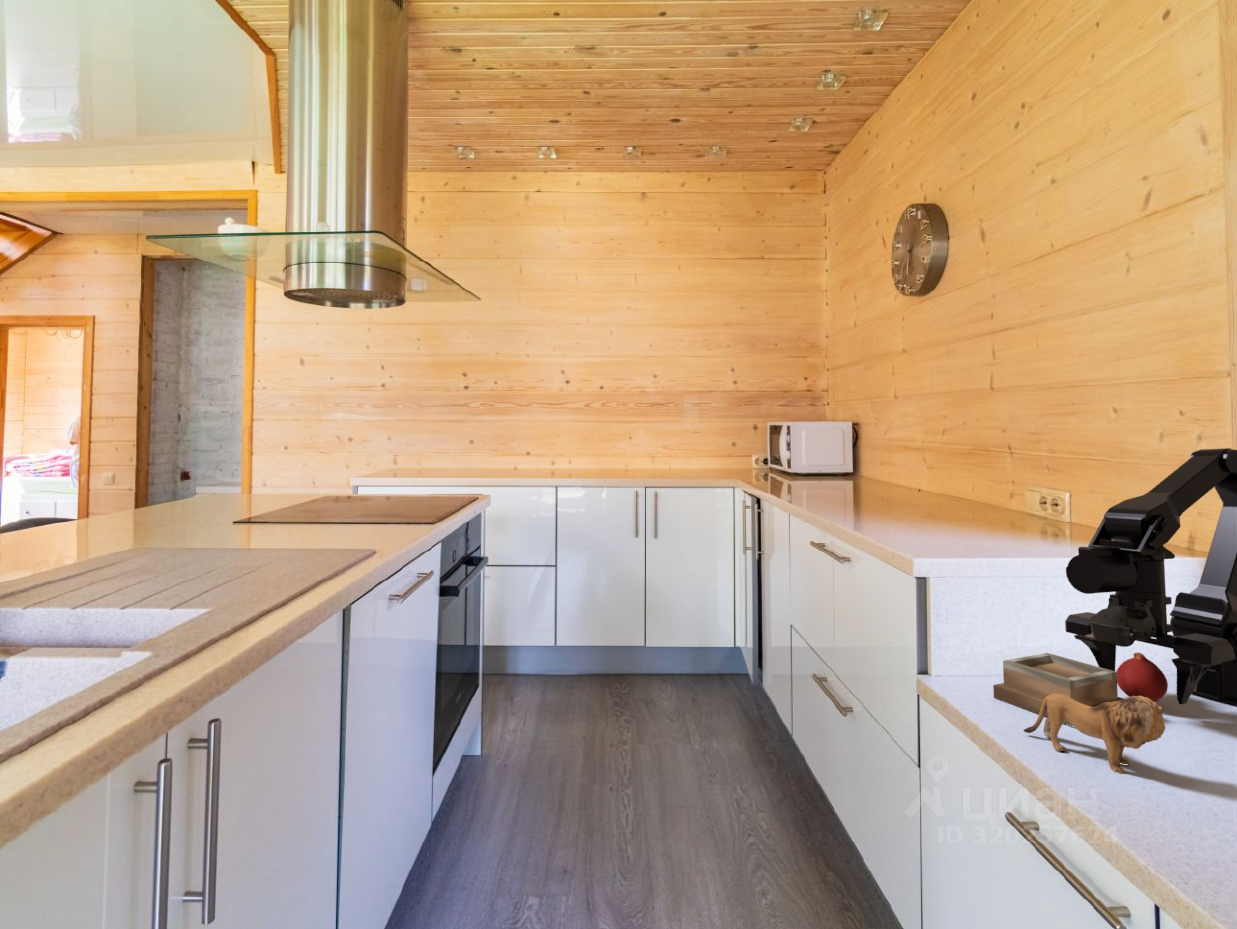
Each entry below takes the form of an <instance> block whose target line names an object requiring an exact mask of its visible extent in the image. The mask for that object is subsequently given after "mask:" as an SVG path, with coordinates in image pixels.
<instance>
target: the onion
mask: <svg viewBox="0 0 1237 929" xmlns="http://www.w3.org/2000/svg"><path fill="white" fill-rule="evenodd" d="M1132 654H1133V657H1131V658H1128V659H1126V660H1125V661H1123V662H1122V663H1121V664H1120V665H1119V666H1118V668H1117V669H1116V670H1115V672H1117V687H1119V689H1120V690H1121V691H1122V692H1123V693H1124V694H1125V695H1126V696H1127V697H1131V696H1143V697H1147V698H1149V699H1151V700H1152V701H1153V702H1156V703H1157V702H1158V701H1160V700H1162V699H1163V698H1164V697H1165V695H1166V694H1167V692H1168V687H1169V683H1168V680H1167V677H1166V676H1165V674H1164V672H1163V671H1162V670H1161V669H1160V668H1159V667H1158V666H1157V665H1156V663H1155V662H1153V661H1151V660H1150V659H1149V658H1147V657H1146V656H1145V655H1144V654H1143V653H1141V652H1137V651H1136V652H1134V653H1132Z"/></svg>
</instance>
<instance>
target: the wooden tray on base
mask: <svg viewBox="0 0 1237 929" xmlns="http://www.w3.org/2000/svg"><path fill="white" fill-rule="evenodd" d="M1002 667H1003V668H1002V671H1003V673H1002V674H1003V683H998V684H996V683H995V684H993V686H992V687H993V689H992V690H993V698H994V699H996V700H999V701H1002V702H1004V703H1007V704H1010V705H1013V706H1015V707H1017V708H1019V709H1022V710H1025V711H1028V712H1031V713H1033V714H1036V715H1037V716H1039V712H1040V709H1041V706H1042V703H1043V701H1044V700H1045V698H1046V697H1047V696H1049V695H1051V694H1062V695H1066V696H1069V697H1071V698H1072V699H1074V700H1076V701H1077V702H1079V703H1082V704H1084V705H1087V706H1091V707H1096V706H1099V705H1101V704H1103V703H1106V702H1114V701H1119V700H1122V699H1124V698H1123V697H1120V696H1118V694H1119V693H1118V684H1117V672H1116V670H1115V671H1112V670H1108V669H1104V668H1101V667H1099V666H1098V665H1093V664H1089V663H1085V662H1081V661H1078V660H1074V659H1071V658H1068V657H1064V656H1061V655H1060V656H1059V655H1056V654H1052V653H1050V652H1044V653H1039V654H1034V655H1029V656H1021V657H1017V658H1011V659H1004V660H1003V661H1002ZM1043 718H1046V719H1047V718H1049V716H1048V711H1047V709H1046V712H1045V714H1044V717H1043ZM1065 724H1068V725H1071V726H1073V725H1072V724H1071V723H1070V722H1069V721H1067V722H1065ZM1065 724H1064V725H1065ZM1068 725H1067V726H1068Z"/></svg>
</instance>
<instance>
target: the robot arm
mask: <svg viewBox="0 0 1237 929" xmlns="http://www.w3.org/2000/svg"><path fill="white" fill-rule="evenodd" d="M1212 489H1214V490H1216V493H1217V495H1218V496H1219V498H1220V500H1221V502H1222V506H1221V510H1220V514H1219V518H1218V521H1217V523H1216V524H1217V525H1216V527H1215V531H1214V533H1213V537H1212V541H1211V544H1210V547H1209V550H1208V553H1207V557H1206V560H1205V564H1204V566H1203V570H1202V573H1201V577H1200V580H1199V583H1198V585H1197V587H1196V588H1195V589H1194V590H1192V591H1190V592H1189V593H1188V592H1182V591H1179V593H1177V595H1175V596H1176V597H1175V601H1174V604H1173V605H1174V606H1173V607H1172V611H1171V612H1170V613H1169V616H1170V617H1171V618H1170V620H1169V621H1170V622H1169V623H1168V620H1167V619H1168V618H1167V616H1168V615H1167V605H1172V600H1173V599H1172V597H1171V596H1166V593H1167V592H1166V590H1167V589H1166V571H1165V570H1166V568H1165V560H1172V559H1175V556H1176V555H1175V554H1174V553H1173V552H1172V551H1171V550H1169V549H1167V547H1165V545H1166V544H1167V543H1169V541H1170V540H1171V539H1172V538H1173V536H1174V535H1175V534H1176V533H1177V532H1178V530H1180V528H1181V518H1180V517H1181V516H1182V515H1183V514H1184V513H1185V511H1187V510H1189V508H1191V507H1192V506H1193V505H1194V504H1196V503H1197V502H1198V501H1199V500H1200V499H1202V498H1203V497H1204V496H1205V495H1206V494H1207V493H1209V492H1210V491H1212ZM1077 551H1078V552H1077V553H1078V555H1075V556H1073V557H1072V558H1071V559H1069V561H1068V563H1067V566H1066V567H1065V574H1066V578H1067V581H1068V582H1069V583H1070V586H1072V588H1073V589H1074V590H1076V591H1078V592H1079V593H1082V594H1085V595H1086V594H1087V595H1089V594H1104V593H1110V594H1109V598H1108V605H1107V607H1106V608H1103V609H1101V610H1099V611H1098V612H1096V613H1094V612H1089V611H1087V612H1080V613H1073V614H1069V615H1068V616H1067V617H1066V619H1065V622H1064V626H1065V627H1064V628H1065V633H1069V634H1072V635H1073V634H1074V635H1073V636H1074V638H1075V639H1076V640H1078V641H1080V642H1082V643H1083V644H1084V645H1086V646H1087V648H1088V649H1089V650H1090V652H1091V653H1092V655H1093V657H1094V659H1095V661H1096V664H1097V667H1101V668H1104V669H1108V670H1112V671H1115V672H1116V660H1117V658H1116V656H1117V646H1118V647H1122V648H1123V647H1125V648H1127V647H1131V646H1133V644H1134V643H1135V642H1136V641H1137V642H1141V643H1145V644H1150V645H1154V646H1155V645H1156V646H1159V647H1164V648H1168V649H1172V651H1173V653H1174V654H1175V655H1176V656H1177V658H1171V662H1172V663H1173V665H1174V667H1175V668H1176V698H1177V704H1178V705H1182V706H1183V705H1186V703H1187V702H1188V701H1189V699H1190V697H1191V695H1196V696H1200V697H1202V698H1203V697H1204V698H1206V699H1211V700H1215V701H1218V702H1223V703H1226V704H1229V705H1232V706H1237V449H1232V448H1231V447H1230V448H1227V447H1226V448H1206V449H1201V448H1200V449H1199V450H1195V451H1192V453H1191V454H1190V455H1189V458H1188V460H1186V461H1185V462H1183V464H1181V465H1180V466H1179V467H1178V468H1176V469H1175V470H1173V471H1172V473H1170V474H1169V475H1167V477H1165V478H1164V479H1163V480H1162V481H1160V482H1159V483H1158V484H1156V485H1155V486H1154V487H1153V488H1152V489H1150V490H1149V491H1147V492H1146V493H1145V494H1142V495H1139V496H1136V497H1131V498H1127V499H1124V500H1123V501H1121V502H1119V503H1117V504H1114V505H1112V506H1111V507H1109V508H1108V509H1107V511H1106V512H1105V513H1104V514H1103V518H1102V520H1101V522H1100V524H1099V526H1098V527H1097V529H1096V531H1095V533H1094V535H1093V536H1092V539H1090V542H1089V544H1088V546H1079V547H1078V550H1077ZM1111 593H1112V594H1111ZM1168 633H1172V634H1168Z"/></svg>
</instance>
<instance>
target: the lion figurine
mask: <svg viewBox="0 0 1237 929" xmlns="http://www.w3.org/2000/svg"><path fill="white" fill-rule="evenodd" d="M1046 709H1047V711H1048V716H1049V718H1046V719H1045V721H1044V726H1043V733H1044V736H1045V737H1046V738H1049V739H1050V740H1051V742H1052V747H1053V750H1055V749H1056V750H1058V751H1057V752H1059V751H1064V752H1066V751H1067V748H1066V747H1065V746H1064V745H1062V744H1061V743H1060V742H1059V738H1058V735H1059V732H1060V729H1061V728H1062V725H1064V724H1063V723H1065V722H1067V721H1069V722H1070V723H1071V724H1072V725H1073V726H1074V727H1075V728H1074V729H1076V730H1077V731H1078V732H1080V733H1081V734H1083V735H1085V736H1087V737H1090V738H1095V739H1098V740H1102V741H1103V742H1104V744H1105V748H1106V752H1107V757H1108V758H1107V759H1108V765H1109V767H1110V770H1111V771H1113V770H1114V771H1116V772H1121V773H1120V774H1124V773H1125V771H1126V770H1125V768H1124V767H1122V765H1120V763H1122V764H1129V765H1130V762H1129V760H1127V759H1125V758H1123V753H1124V750H1125V748H1129V749H1130V748H1132V749H1133V750H1138V749H1140V748H1141V747H1142V746H1143V745H1145V744H1146V743H1150V742H1154V741H1157V740H1158V739H1161V737H1162V736H1163V735H1164V733H1165V730H1166V725H1165V721H1164V720H1165V719H1164V716H1163V708H1162V706H1159V705H1157V702H1153V701H1152V700H1151V699H1149V698H1147V697H1143V696H1131V697H1129V696H1127V697H1126V698H1123V699H1122V700H1119V701H1114V702H1106V703H1103V704H1101V705H1099V706H1096V707H1091V706H1087V705H1084V704H1082V703H1079V702H1077V701H1076V700H1074V699H1072V698H1071V697H1069V696H1066V695H1062V694H1051V695H1049V696H1047V697H1046V698H1045V700H1044V701H1043V703H1042V706H1041V709H1040V712H1039V715H1037V720H1036V721H1035V723H1034V724H1033V725H1031V726H1028V727H1027V728H1024V729H1023V730H1022V731H1023V732H1025V733H1028V734H1031V733H1034V732H1035V731H1037V729H1038V728H1039V726H1041V723H1042V721H1043V720H1044V718H1045V717H1044V714H1045V712H1046ZM1056 750H1055V751H1056ZM1114 771H1113V772H1114ZM1116 772H1115V773H1116Z"/></svg>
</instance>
